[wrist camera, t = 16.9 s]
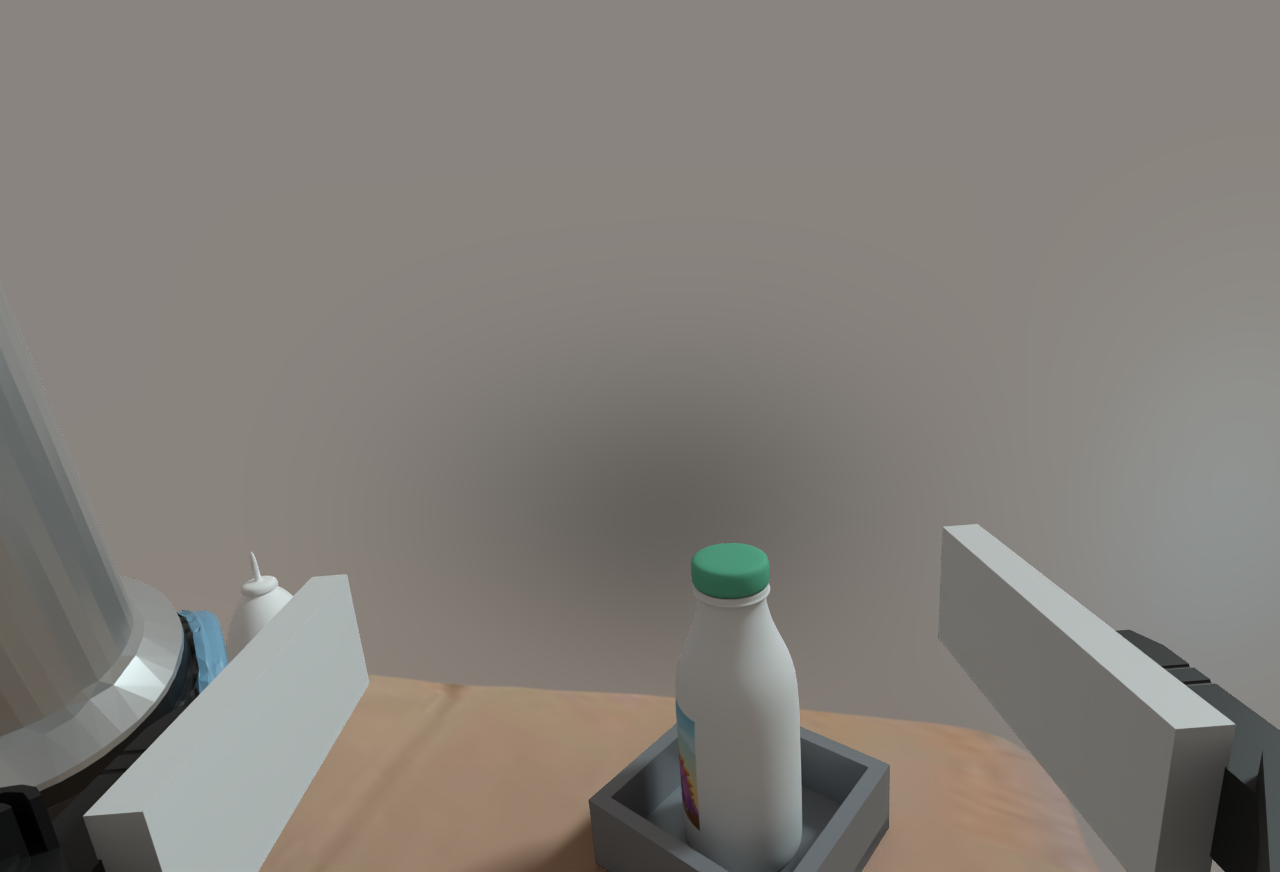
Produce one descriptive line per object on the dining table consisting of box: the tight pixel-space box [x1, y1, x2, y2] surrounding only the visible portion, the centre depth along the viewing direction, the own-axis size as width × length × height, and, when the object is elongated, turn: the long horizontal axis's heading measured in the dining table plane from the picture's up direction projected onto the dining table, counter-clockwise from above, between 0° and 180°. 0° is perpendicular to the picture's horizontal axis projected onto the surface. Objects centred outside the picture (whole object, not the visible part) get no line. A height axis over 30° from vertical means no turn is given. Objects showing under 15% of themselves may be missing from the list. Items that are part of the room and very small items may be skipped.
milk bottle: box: [675, 543, 802, 872], centre depth 43 cm, size 8×8×20 cm
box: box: [589, 723, 890, 872], centre depth 45 cm, size 14×14×5 cm
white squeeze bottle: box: [225, 552, 293, 664], centre depth 58 cm, size 8×8×18 cm
